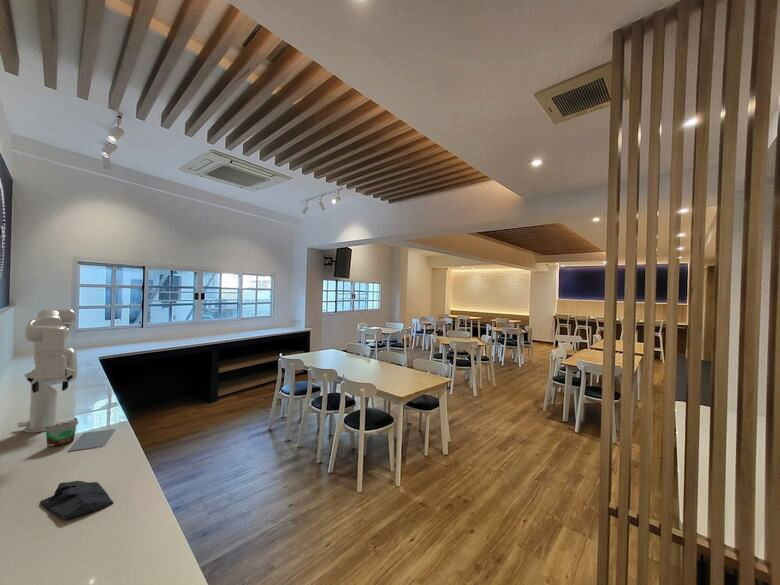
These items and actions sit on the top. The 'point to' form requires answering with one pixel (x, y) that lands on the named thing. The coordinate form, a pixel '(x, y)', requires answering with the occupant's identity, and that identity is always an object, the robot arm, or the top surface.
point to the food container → (61, 433)
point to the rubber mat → (92, 440)
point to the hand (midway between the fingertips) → (50, 390)
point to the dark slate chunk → (77, 499)
